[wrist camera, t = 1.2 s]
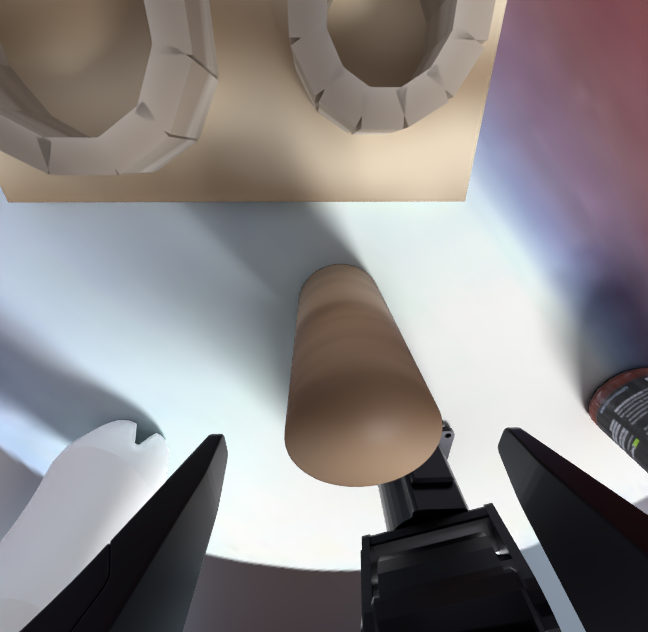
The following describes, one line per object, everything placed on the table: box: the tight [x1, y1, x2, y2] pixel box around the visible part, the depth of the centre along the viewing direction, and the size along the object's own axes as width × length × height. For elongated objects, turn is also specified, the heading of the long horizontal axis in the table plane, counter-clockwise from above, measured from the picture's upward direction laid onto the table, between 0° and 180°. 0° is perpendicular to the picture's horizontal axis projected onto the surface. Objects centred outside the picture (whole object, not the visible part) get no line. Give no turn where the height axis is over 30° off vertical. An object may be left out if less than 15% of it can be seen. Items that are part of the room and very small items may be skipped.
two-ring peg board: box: [0, 0, 507, 202], centre depth 11 cm, size 12×22×4 cm, turn 90°
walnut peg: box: [285, 264, 443, 487], centre depth 14 cm, size 5×5×10 cm
